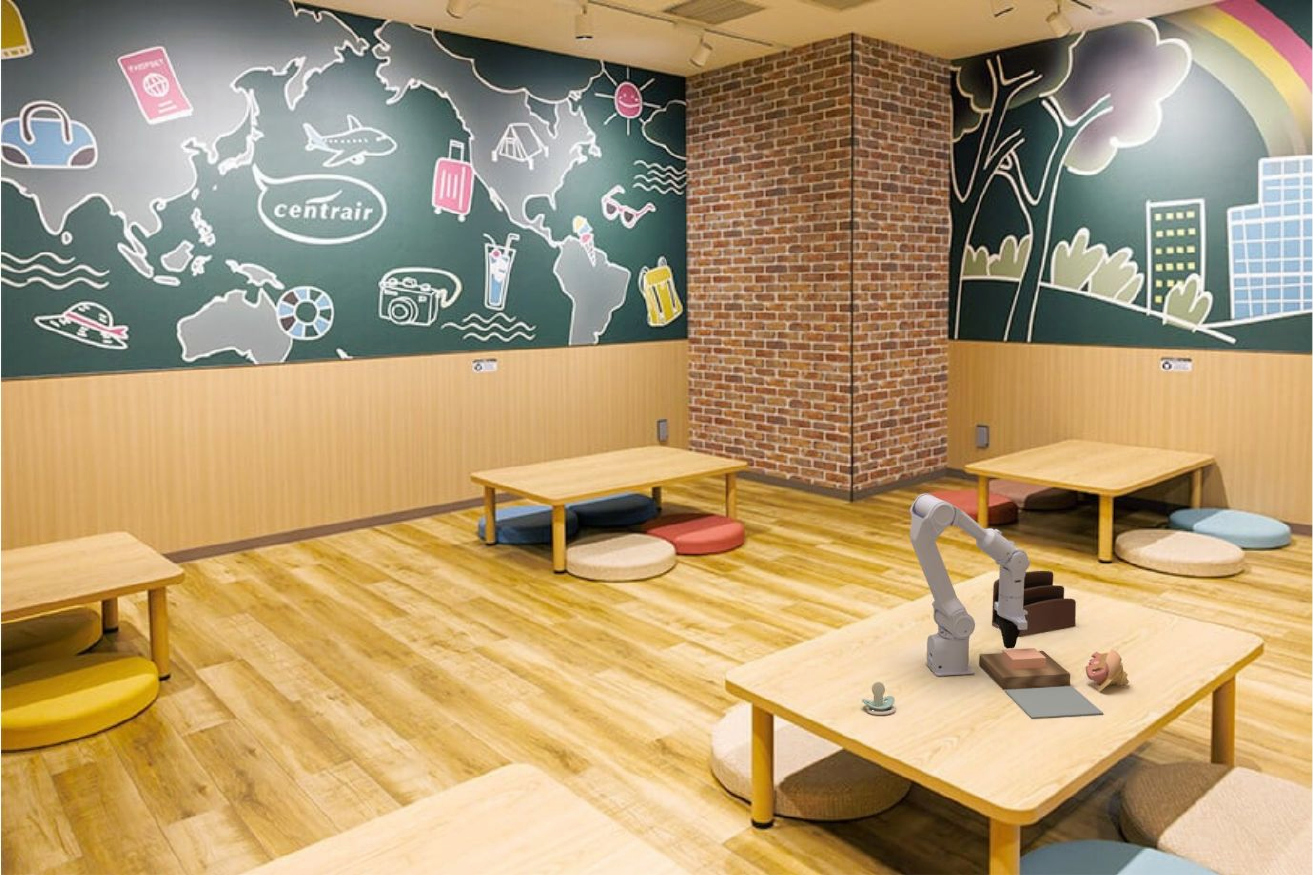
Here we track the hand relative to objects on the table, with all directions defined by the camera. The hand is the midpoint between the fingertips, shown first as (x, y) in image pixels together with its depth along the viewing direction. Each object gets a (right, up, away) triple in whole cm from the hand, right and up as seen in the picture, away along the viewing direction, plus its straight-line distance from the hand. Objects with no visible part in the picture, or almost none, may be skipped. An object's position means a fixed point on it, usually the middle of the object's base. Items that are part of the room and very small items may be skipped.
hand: (1009, 647), depth 240 cm
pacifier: (-37, -9, -23) cm, 45 cm away
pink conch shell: (+17, -6, -14) cm, 23 cm away
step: (+1, -5, -7) cm, 9 cm away
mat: (+2, -8, -22) cm, 23 cm away
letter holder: (+15, 0, +24) cm, 29 cm away
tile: (+1, -2, -8) cm, 8 cm away
